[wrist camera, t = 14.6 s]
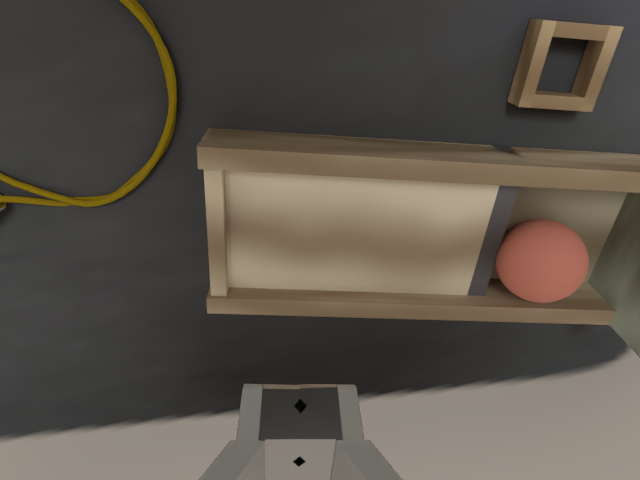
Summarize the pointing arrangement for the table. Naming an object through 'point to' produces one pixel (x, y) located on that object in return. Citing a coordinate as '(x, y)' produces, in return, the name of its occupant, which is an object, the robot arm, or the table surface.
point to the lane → (410, 227)
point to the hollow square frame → (589, 71)
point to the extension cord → (168, 68)
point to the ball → (542, 260)
